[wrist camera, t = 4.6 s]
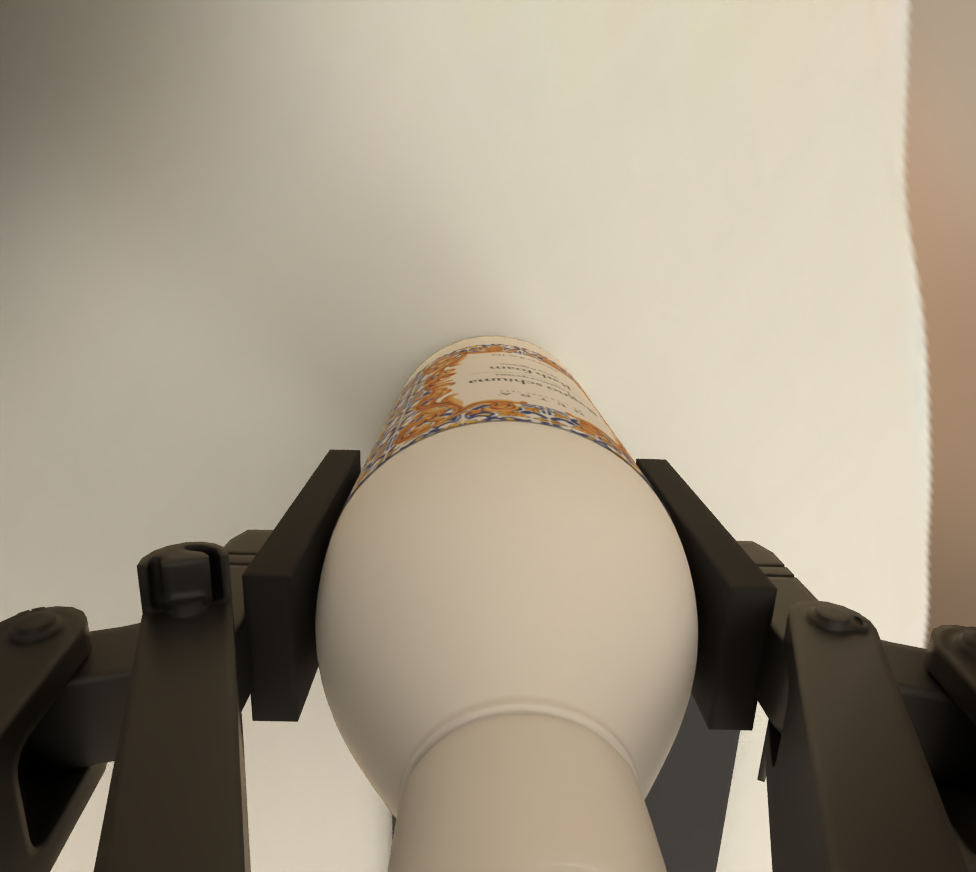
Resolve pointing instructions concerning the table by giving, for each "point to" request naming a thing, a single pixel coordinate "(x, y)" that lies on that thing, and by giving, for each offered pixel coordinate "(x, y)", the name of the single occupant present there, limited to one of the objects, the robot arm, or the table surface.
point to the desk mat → (691, 794)
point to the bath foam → (507, 623)
